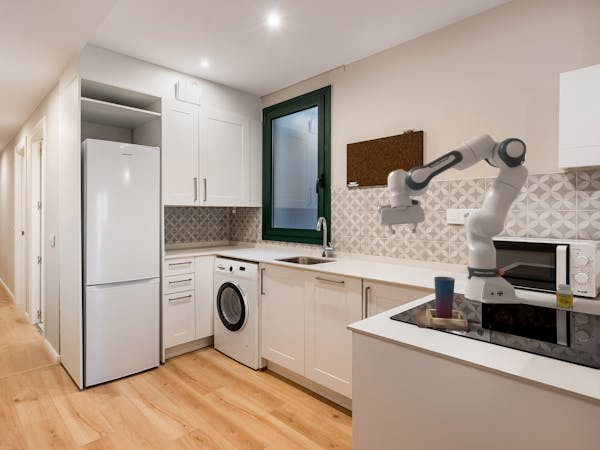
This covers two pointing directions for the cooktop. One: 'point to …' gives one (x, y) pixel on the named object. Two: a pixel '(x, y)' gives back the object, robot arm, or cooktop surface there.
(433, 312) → the light wooden shallow tray
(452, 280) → the cup
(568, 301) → the supplement bottle
